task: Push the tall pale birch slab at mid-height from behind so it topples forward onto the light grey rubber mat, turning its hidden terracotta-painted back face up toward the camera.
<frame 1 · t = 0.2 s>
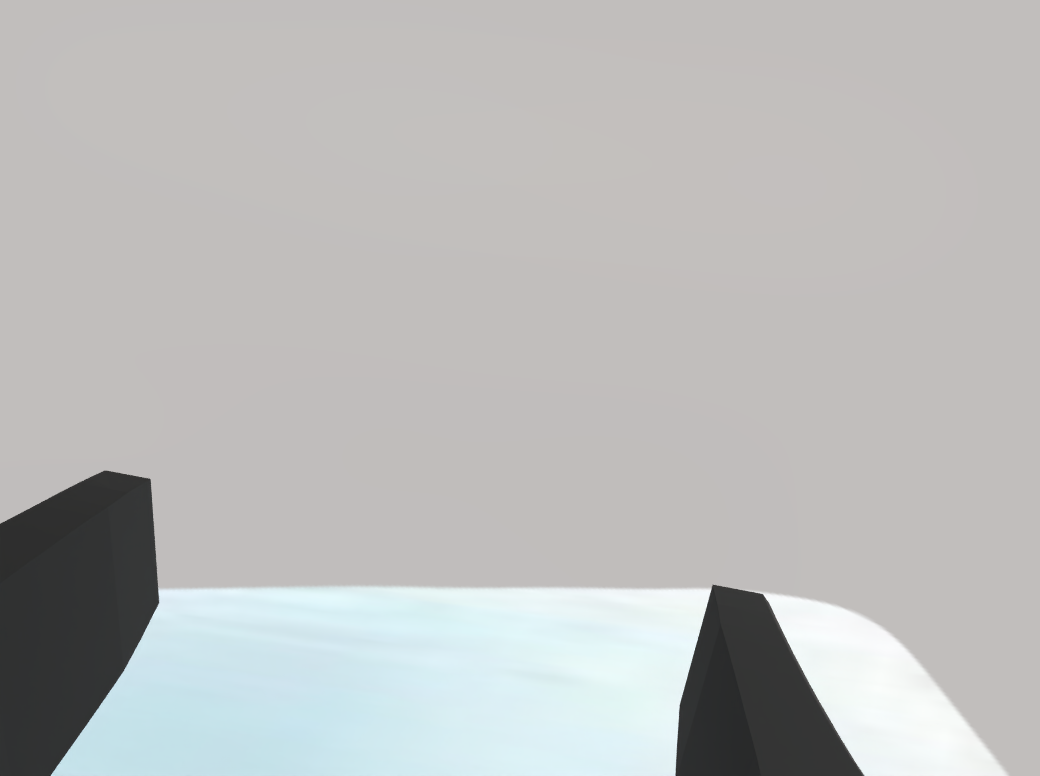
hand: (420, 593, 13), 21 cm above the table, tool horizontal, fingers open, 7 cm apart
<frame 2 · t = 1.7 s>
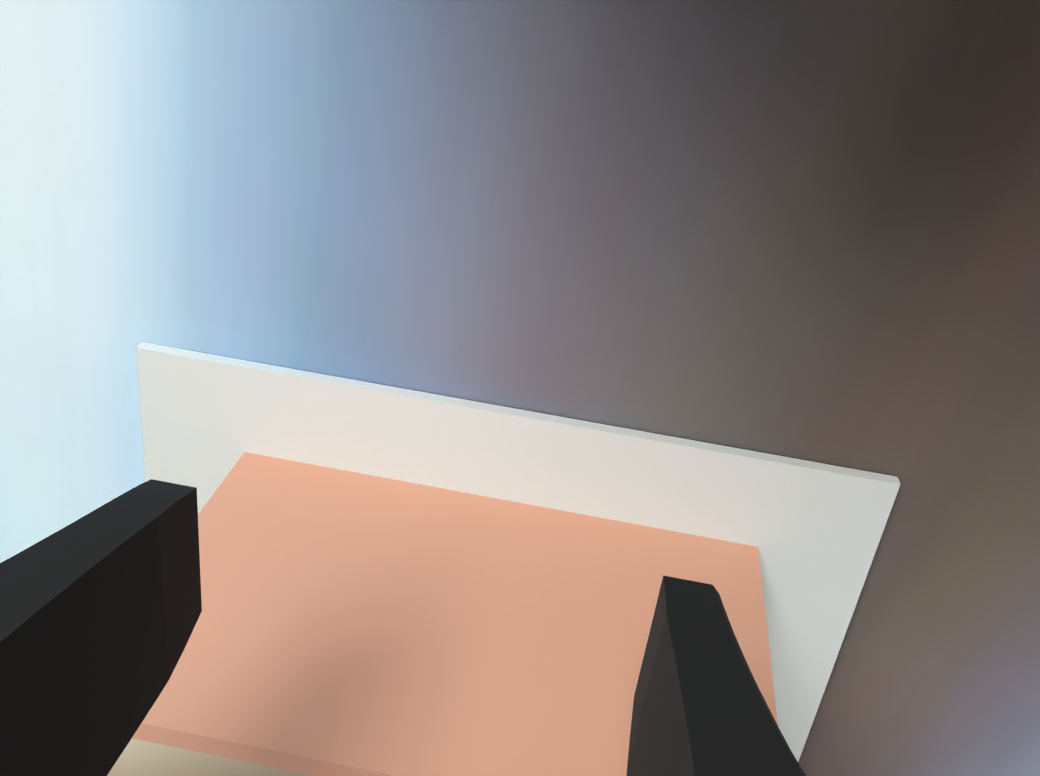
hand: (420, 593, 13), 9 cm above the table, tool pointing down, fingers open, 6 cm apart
rubber mat: (476, 658, 26), on the table
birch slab: (490, 541, 23), resting on rubber mat
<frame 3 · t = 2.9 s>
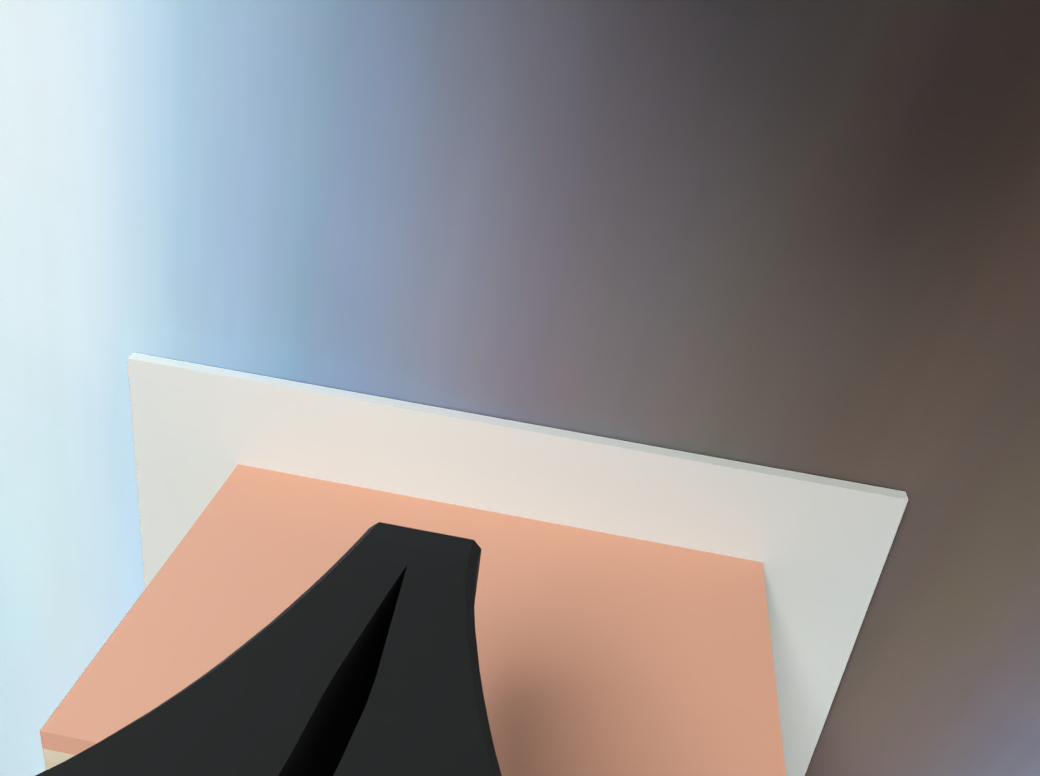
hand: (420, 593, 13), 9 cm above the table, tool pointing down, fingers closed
rubber mat: (474, 674, 25), on the table
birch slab: (489, 556, 23), resting on rubber mat
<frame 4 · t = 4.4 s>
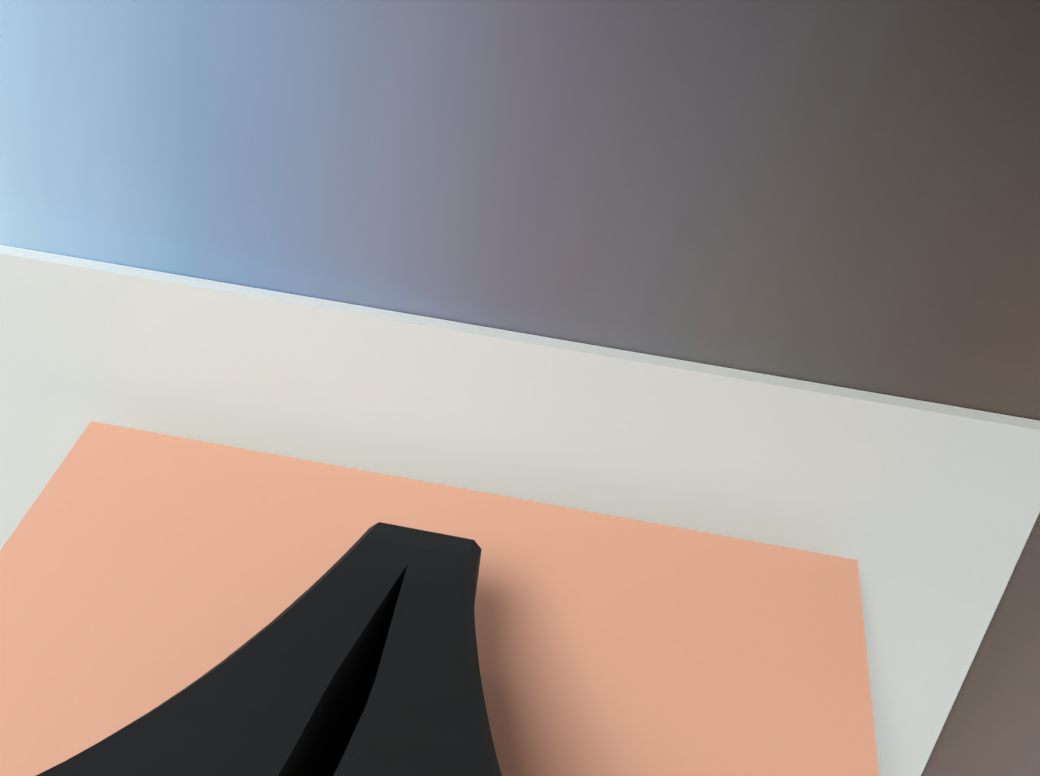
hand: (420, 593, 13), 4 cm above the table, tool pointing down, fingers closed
rubber mat: (448, 689, 19), on the table
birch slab: (460, 539, 16), point 1 cm above the table, tilted 14°, touching gripper, rubber mat
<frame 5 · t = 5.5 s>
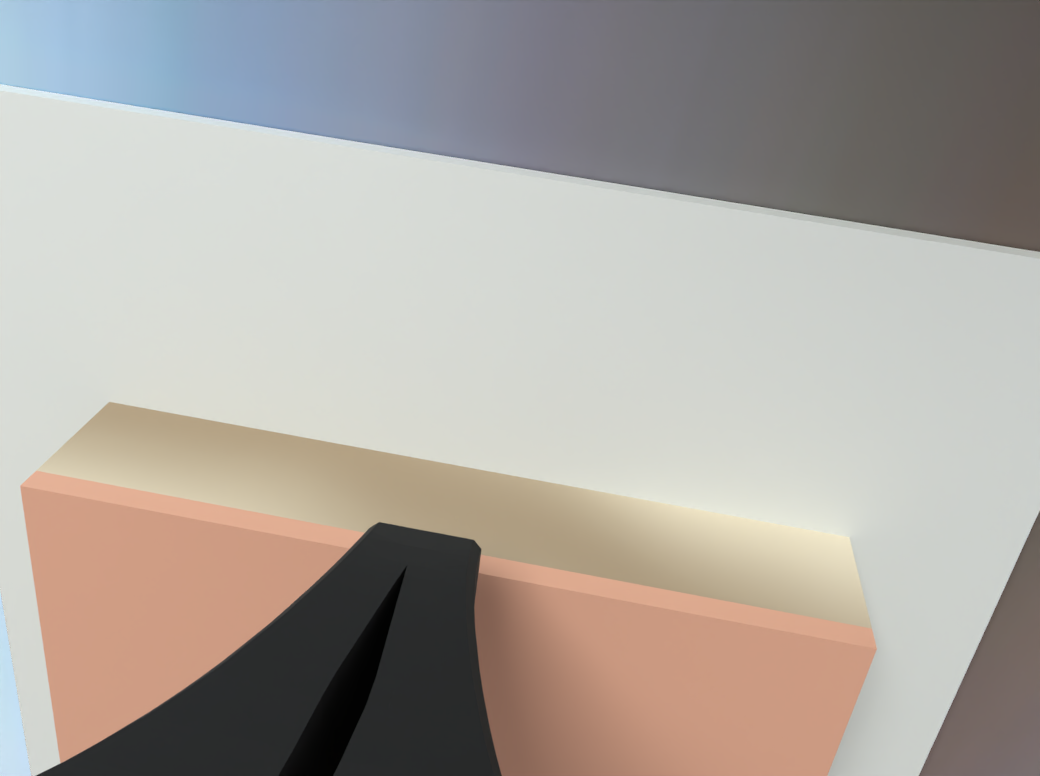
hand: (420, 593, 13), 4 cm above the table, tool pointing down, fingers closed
rubber mat: (458, 586, 17), on the table
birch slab: (453, 512, 15), point 2 cm above the table, tilted 90°, touching rubber mat
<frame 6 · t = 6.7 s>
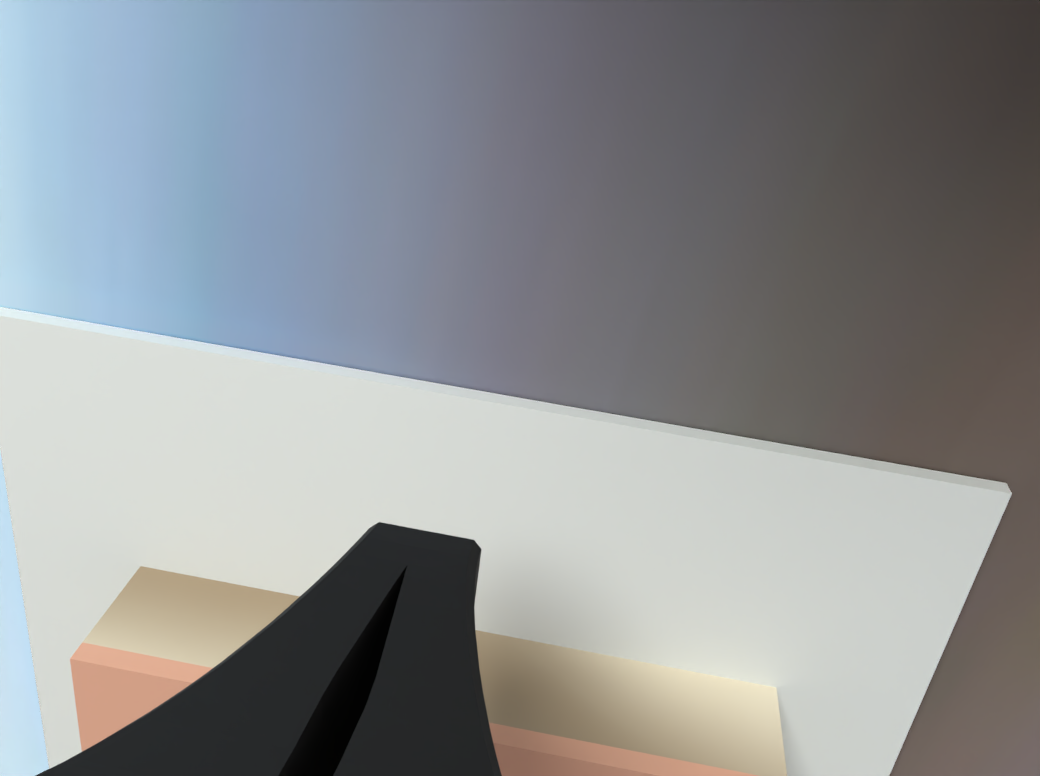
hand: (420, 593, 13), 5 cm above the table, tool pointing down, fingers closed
rubber mat: (443, 716, 20), on the table
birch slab: (437, 673, 17), point 2 cm above the table, tilted 90°, touching rubber mat
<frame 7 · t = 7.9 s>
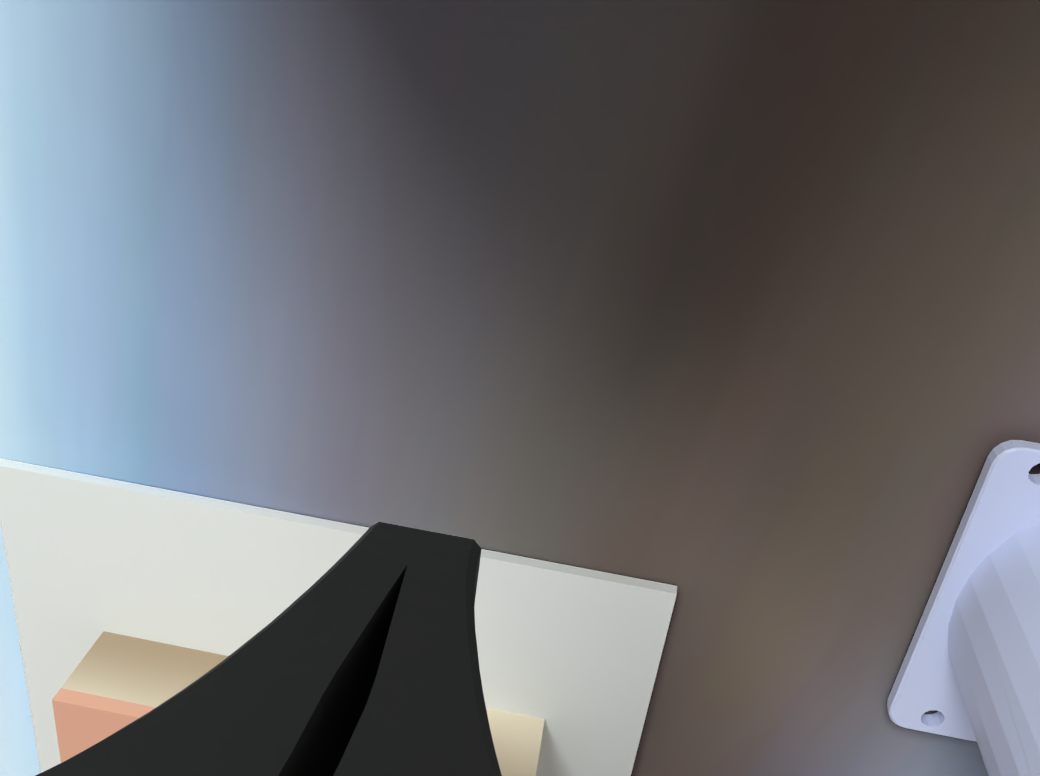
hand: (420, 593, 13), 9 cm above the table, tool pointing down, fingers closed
rubber mat: (321, 737, 28), on the table
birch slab: (304, 709, 25), point 2 cm above the table, tilted 90°, touching rubber mat
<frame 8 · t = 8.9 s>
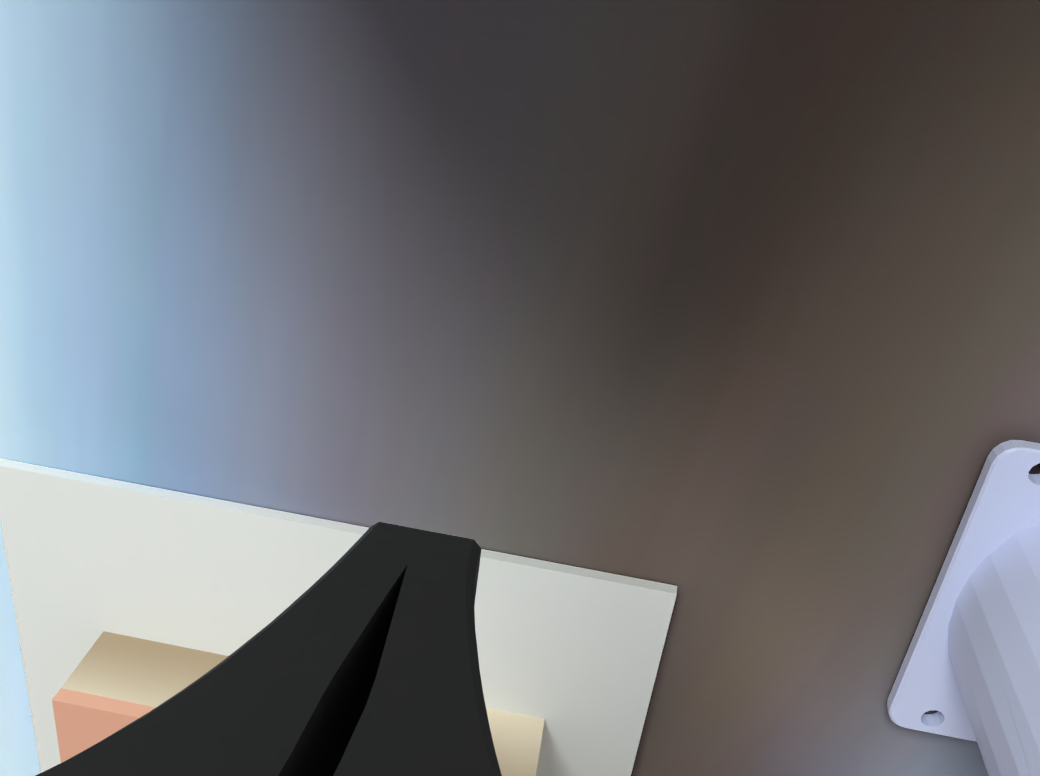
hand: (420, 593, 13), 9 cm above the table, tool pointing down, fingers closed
rubber mat: (321, 737, 28), on the table
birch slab: (304, 709, 25), point 2 cm above the table, tilted 90°, touching rubber mat
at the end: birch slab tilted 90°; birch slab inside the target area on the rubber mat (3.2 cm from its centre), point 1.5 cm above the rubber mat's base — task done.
